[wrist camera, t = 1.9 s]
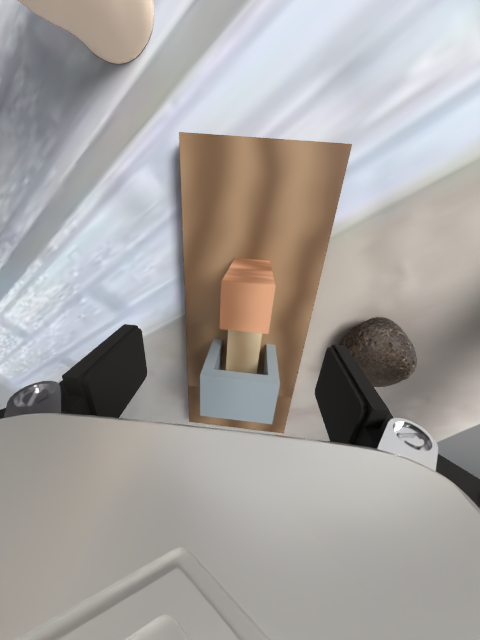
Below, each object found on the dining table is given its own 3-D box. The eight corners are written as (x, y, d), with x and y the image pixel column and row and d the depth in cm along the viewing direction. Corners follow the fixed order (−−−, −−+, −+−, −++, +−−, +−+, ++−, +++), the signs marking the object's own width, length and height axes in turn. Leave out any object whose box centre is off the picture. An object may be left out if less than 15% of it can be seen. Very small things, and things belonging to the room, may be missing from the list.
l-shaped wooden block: (269, 260, 25) (275, 286, 16) (253, 383, 33) (251, 446, 24) (235, 257, 25) (221, 281, 16) (227, 380, 33) (215, 441, 24)
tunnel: (275, 344, 30) (280, 384, 23) (269, 379, 32) (272, 424, 26) (213, 338, 30) (200, 375, 23) (212, 373, 33) (200, 415, 26)
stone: (363, 359, 36) (442, 364, 28) (338, 394, 32) (421, 412, 24) (341, 307, 34) (418, 296, 26) (310, 337, 30) (390, 335, 22)
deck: (344, 150, 22) (352, 144, 20) (282, 423, 39) (283, 433, 37) (185, 138, 23) (179, 132, 21) (192, 412, 40) (189, 421, 38)
